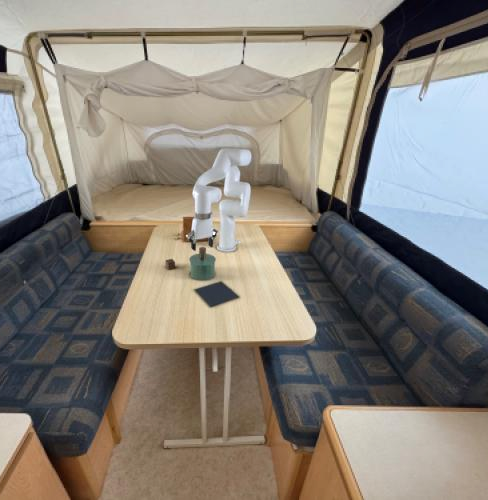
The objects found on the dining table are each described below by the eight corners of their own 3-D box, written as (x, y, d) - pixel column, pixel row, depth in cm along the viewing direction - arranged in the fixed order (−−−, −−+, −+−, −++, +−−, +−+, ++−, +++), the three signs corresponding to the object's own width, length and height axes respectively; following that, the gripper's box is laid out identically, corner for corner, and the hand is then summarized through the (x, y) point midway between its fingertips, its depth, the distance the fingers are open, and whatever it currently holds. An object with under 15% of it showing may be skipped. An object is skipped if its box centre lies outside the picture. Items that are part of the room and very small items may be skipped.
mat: (221, 282, 134) (221, 281, 134) (238, 297, 122) (238, 296, 122) (194, 290, 127) (194, 289, 127) (210, 306, 115) (210, 306, 115)
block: (172, 265, 150) (172, 258, 148) (175, 268, 147) (174, 261, 145) (165, 266, 148) (165, 260, 146) (168, 269, 145) (168, 263, 143)
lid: (207, 253, 146) (207, 241, 143) (220, 263, 135) (221, 250, 132) (185, 258, 140) (184, 246, 137) (197, 269, 129) (197, 256, 126)
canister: (206, 266, 149) (207, 252, 145) (218, 276, 139) (219, 262, 135) (186, 271, 143) (186, 257, 139) (197, 282, 133) (197, 267, 130)
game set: (212, 231, 198) (212, 206, 190) (217, 243, 179) (218, 215, 170) (174, 232, 195) (173, 207, 187) (175, 244, 175) (174, 217, 167)
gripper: (214, 211, 134) (213, 242, 141) (183, 215, 126) (183, 248, 133) (222, 215, 128) (220, 247, 135) (190, 220, 120) (190, 254, 127)
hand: (202, 248), depth 134 cm, fingers open, 9 cm apart
